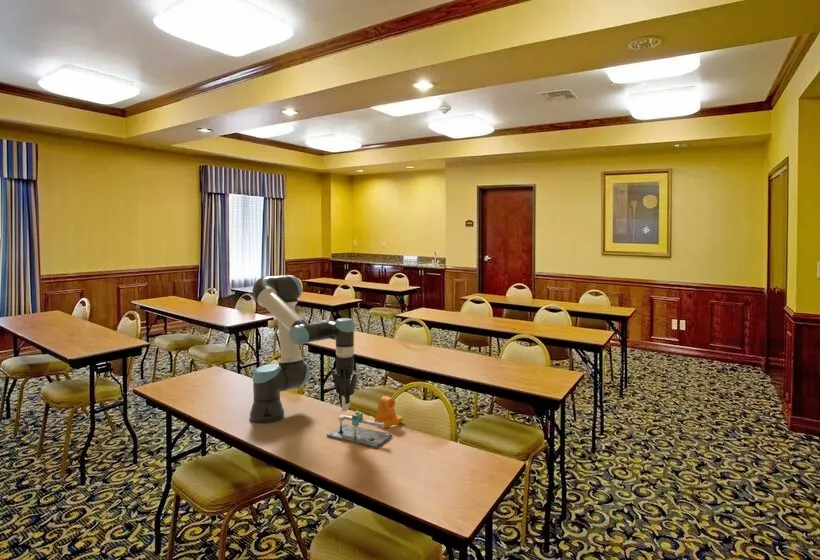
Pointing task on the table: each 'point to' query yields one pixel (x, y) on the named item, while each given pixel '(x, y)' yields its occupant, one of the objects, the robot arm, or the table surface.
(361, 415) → the sliding leg
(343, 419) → the dividers bar
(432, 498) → the table surface
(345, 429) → the bolt plate
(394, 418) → the bracket
